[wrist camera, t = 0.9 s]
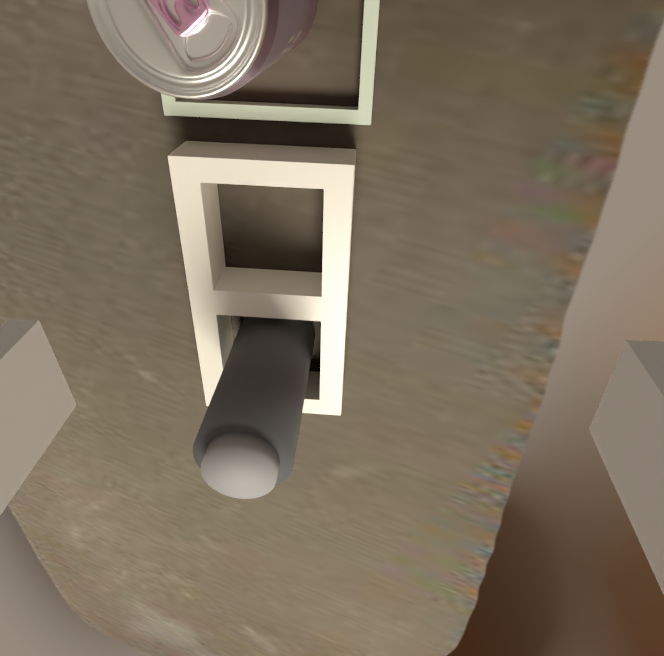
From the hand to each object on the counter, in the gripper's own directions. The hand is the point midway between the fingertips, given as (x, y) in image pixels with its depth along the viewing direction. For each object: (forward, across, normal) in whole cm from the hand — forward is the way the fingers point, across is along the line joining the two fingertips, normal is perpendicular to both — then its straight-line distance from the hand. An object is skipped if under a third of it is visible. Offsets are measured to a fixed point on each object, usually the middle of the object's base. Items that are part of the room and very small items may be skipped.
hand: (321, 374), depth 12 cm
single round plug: (+23, -6, -16) cm, 29 cm away
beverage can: (+24, -5, +7) cm, 25 cm away
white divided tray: (+23, -6, -11) cm, 27 cm away
